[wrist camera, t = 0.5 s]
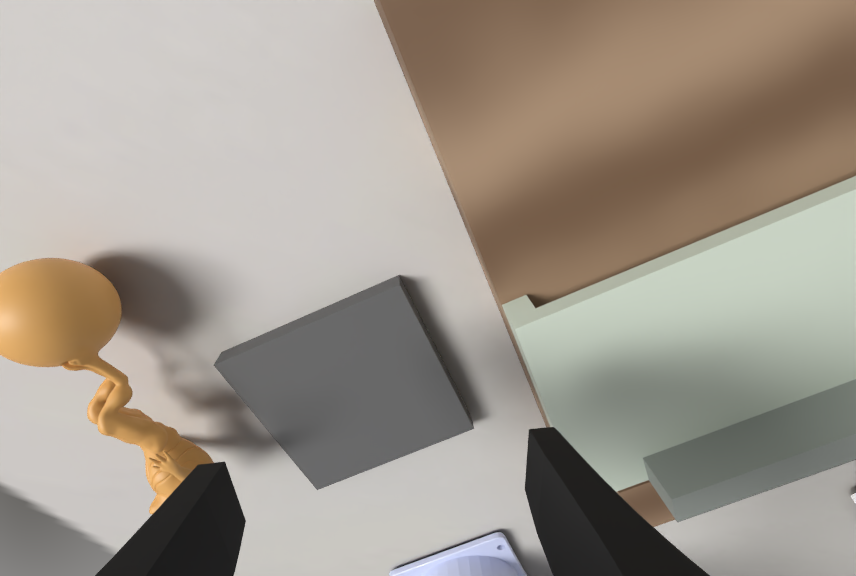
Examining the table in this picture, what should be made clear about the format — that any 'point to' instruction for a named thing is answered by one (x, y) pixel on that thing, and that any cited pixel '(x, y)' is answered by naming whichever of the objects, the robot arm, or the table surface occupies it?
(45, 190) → the table surface
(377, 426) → the mat
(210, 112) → the table surface
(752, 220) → the sliding lid
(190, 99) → the table surface
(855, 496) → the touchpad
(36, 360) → the figurine
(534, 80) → the puzzle board
